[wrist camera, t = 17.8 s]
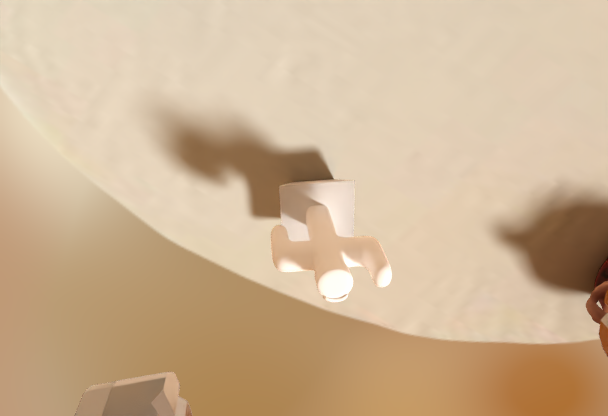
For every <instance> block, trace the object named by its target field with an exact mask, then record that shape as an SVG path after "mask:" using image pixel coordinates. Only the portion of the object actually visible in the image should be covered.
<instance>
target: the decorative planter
mask: <svg viewBox="0 0 608 416" xmlns="http://www.w3.org/2000/svg"><path fill="white" fill-rule="evenodd" d="M607 290H608V259H607V260H606V261H605V263H604V264H603V265H602V267H601V268H600V270H599V273H598V275H597V278H596V281H595V289H594V290H593V291H592V293H591V296H590V298H589V299H588V301H587V303H586V308H587V311H588V313H589V314H590V315H591V316H592V319H593V321H595V322H597V323H599V324H600V321H601V319H602V318H603V317H604V316H605V315H606V314H607V313H608V306H607V305H606V304H605V303H604V300H605V295H606V291H607ZM598 300H599V302H600V304H601V306H602V309H603V310H602V309H601V308H600V307H599V306H598V305H597V304H596V303H597V302H598Z"/></svg>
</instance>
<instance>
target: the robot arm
mask: <svg viewBox="0 0 608 416" xmlns="http://www.w3.org/2000/svg"><path fill="white" fill-rule="evenodd" d="M604 303H605V304H606V305H607V306H608V290H607V291H606V295H605V300H604ZM599 336H600V340H601V344H602V347H603V350H604V351H605V353H606V355H607V357H608V313H607V314H606V315H605V316H604V317H603V318H602V319H601V321H600V329H599ZM179 389H180V384H179V381H178V379H177V378H176V375H175V373H173V372H165V373H159V374H154V375H148V376H142V377H136V378H130V379H124V380H119V381H116V382H110V383H104V384H97V385H91V386H90V387H89V388H88V389H87V390H86V391H85V392H84V394H83V395H82V398H81V401H80V403H79V406H78V408H77V411H76V413H75V416H192V413H191V409H190V406H189V404H188V402H187V401H186V400H185V399H183V398H181V397H179V396H178V395H179Z"/></svg>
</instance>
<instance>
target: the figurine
mask: <svg viewBox="0 0 608 416" xmlns="http://www.w3.org/2000/svg"><path fill="white" fill-rule="evenodd" d="M279 195H280V211H281V225H276V226H275V227H274V228H273V229H272V232H271V249H272V259H273V263H274V265H275V267H276V268H277V269H278V270H279V271H282V272H294V271H306V270H314V271H315V280H316V285H317V288H318V291H319V292H320V293H321V294H322V295H323V298H324V299H325V300H327V301H329V302H340V301H343V300H345V299H346V298H347V297H348V292H349V291H350V290H351V288H352V286H353V278H352V275H351V273H350V270H349V267H354V266H363V267H365V268H366V269H367V270H368V271H369V273H370V275H371V278H372V280H373V282H374V283H375V285H377V286H378V287H385V286H387V285H388V284H389V283H390V281H391V277H392V271H391V267H390V264H389V262H388V259H387V257H386V255H385V253H384V250H383V248H382V246H381V244H380V243H379V241H378V240H377V239H376V238H374V237H372V236H358V237H354V206H355V180H337V179H332V180H317V181H303V182H291V183H288V184H284V185H280V186H279Z"/></svg>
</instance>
